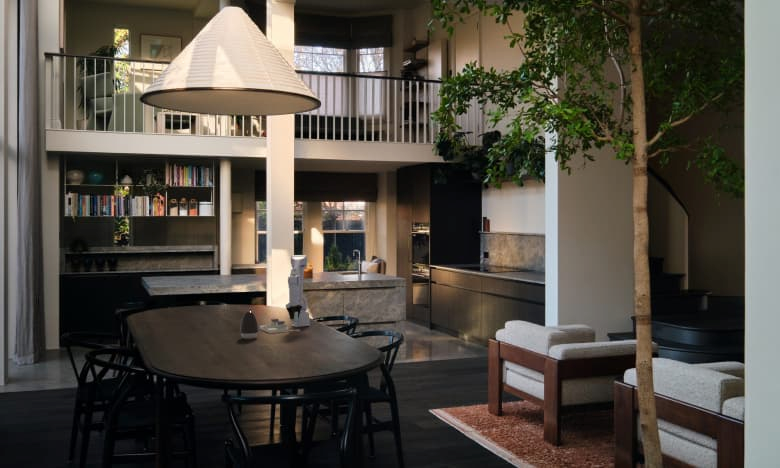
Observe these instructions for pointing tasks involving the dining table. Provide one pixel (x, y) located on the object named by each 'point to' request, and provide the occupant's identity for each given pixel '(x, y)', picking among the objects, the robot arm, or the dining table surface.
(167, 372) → the dining table surface
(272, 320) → the plunger
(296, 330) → the coaster
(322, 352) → the dining table surface
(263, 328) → the housing
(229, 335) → the dining table surface
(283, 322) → the plunger
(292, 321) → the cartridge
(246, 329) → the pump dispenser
